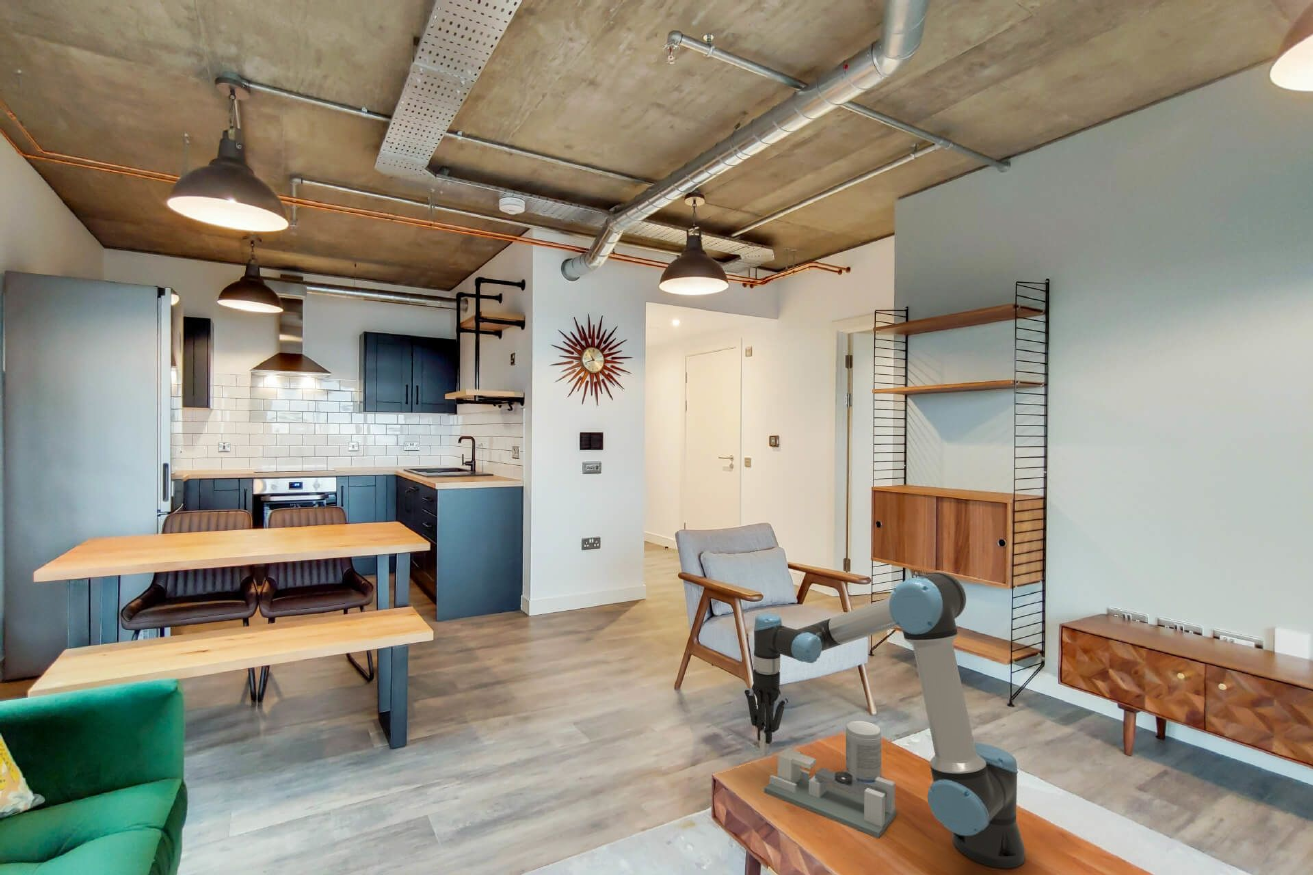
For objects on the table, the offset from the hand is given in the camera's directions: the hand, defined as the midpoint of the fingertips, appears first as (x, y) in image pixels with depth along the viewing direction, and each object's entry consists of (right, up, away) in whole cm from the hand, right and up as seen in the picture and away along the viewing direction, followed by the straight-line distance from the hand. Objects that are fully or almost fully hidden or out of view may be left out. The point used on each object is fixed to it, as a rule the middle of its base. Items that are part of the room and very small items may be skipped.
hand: (764, 752), depth 182 cm
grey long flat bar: (+19, -1, -16) cm, 25 cm away
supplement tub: (+28, -7, -1) cm, 28 cm away
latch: (+8, -5, -7) cm, 12 cm away
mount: (+15, -7, -13) cm, 21 cm away
